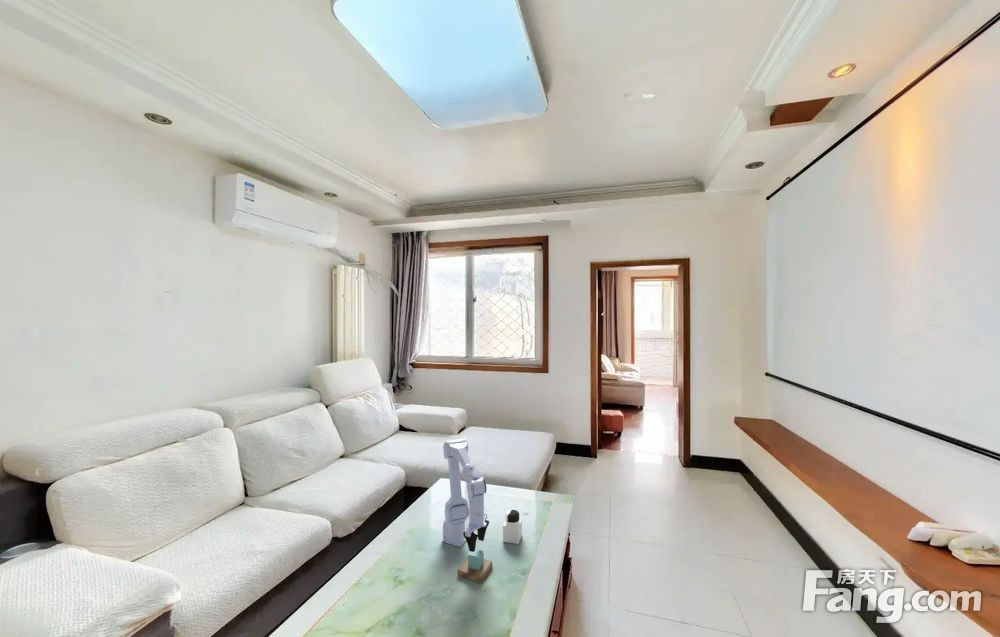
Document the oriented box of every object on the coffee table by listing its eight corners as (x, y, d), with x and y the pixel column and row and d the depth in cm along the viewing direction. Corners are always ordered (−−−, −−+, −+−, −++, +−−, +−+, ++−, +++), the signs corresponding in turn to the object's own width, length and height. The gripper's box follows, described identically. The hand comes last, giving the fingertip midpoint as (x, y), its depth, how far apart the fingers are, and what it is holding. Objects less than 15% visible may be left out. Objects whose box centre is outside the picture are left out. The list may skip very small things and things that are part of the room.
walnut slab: (457, 577, 146) (457, 569, 145) (469, 562, 155) (469, 554, 155) (481, 585, 142) (481, 576, 142) (492, 568, 151) (492, 561, 151)
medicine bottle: (522, 535, 172) (522, 509, 172) (518, 544, 165) (518, 517, 165) (506, 533, 174) (506, 506, 174) (502, 542, 167) (502, 514, 167)
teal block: (468, 567, 147) (468, 554, 147) (473, 560, 151) (473, 547, 151) (478, 570, 145) (478, 557, 145) (483, 563, 149) (483, 550, 149)
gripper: (477, 522, 140) (477, 558, 140) (493, 504, 153) (493, 537, 153) (460, 518, 143) (460, 554, 143) (478, 500, 156) (478, 533, 156)
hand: (476, 545), depth 148 cm, fingers open, 7 cm apart
